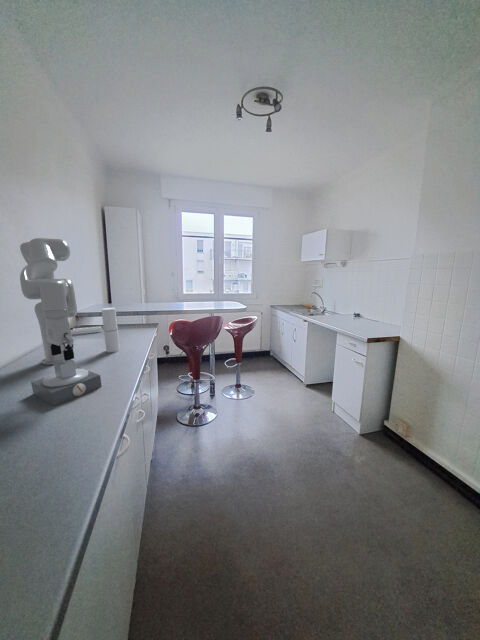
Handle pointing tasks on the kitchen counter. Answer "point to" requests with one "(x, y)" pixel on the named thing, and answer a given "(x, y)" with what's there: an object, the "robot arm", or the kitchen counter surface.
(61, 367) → the steel spacer
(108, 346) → the cylindrical container
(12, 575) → the kitchen counter surface
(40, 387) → the kitchen scale
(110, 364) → the kitchen counter surface
